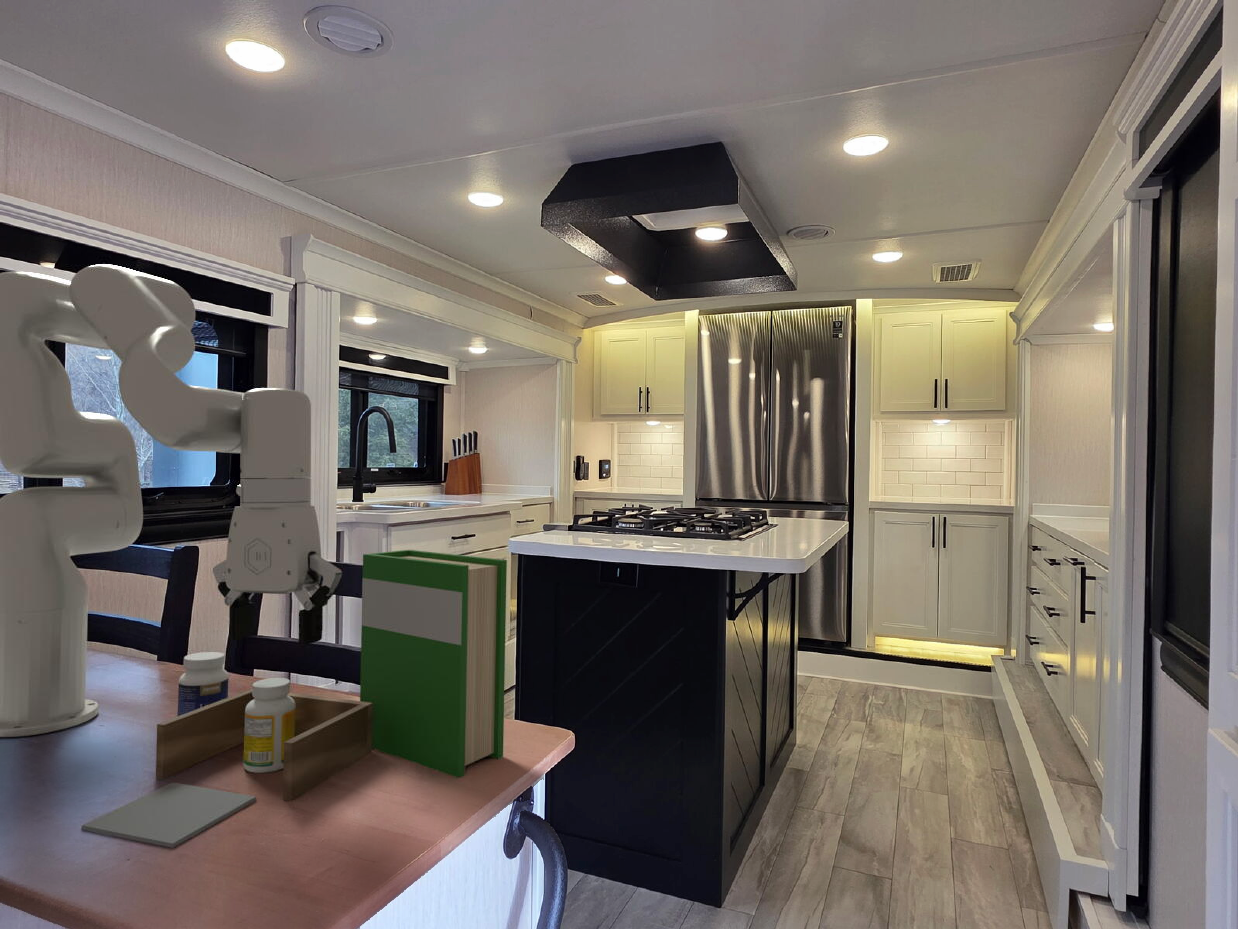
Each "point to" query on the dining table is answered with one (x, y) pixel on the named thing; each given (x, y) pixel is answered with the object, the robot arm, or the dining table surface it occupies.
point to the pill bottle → (202, 681)
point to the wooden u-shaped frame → (314, 754)
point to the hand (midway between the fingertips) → (275, 640)
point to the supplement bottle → (268, 725)
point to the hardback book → (434, 656)
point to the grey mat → (169, 814)
